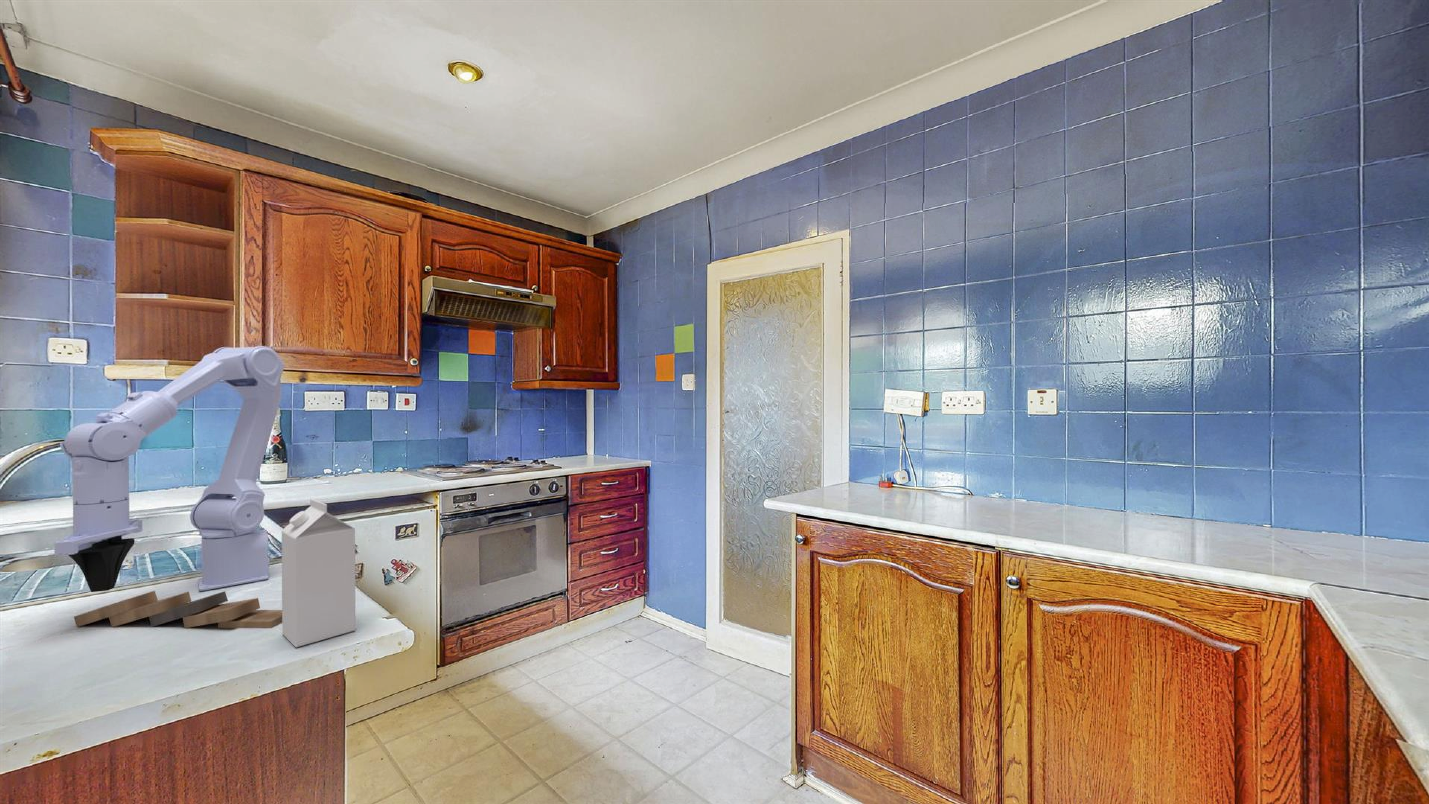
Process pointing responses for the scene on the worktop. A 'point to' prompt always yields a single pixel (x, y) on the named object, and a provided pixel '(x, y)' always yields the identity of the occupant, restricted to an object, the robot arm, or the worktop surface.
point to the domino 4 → (255, 620)
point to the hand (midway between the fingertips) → (102, 589)
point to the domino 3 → (221, 613)
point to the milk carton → (317, 576)
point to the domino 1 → (115, 608)
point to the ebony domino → (188, 609)
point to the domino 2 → (150, 609)
